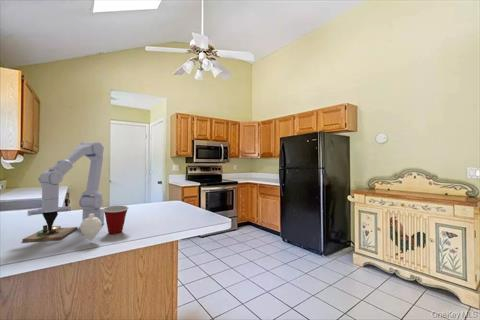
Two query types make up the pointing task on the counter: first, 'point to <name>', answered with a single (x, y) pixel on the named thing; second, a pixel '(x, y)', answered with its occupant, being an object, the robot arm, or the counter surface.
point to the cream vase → (91, 227)
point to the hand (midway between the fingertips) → (49, 229)
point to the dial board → (50, 235)
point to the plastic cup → (115, 218)
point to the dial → (45, 229)
